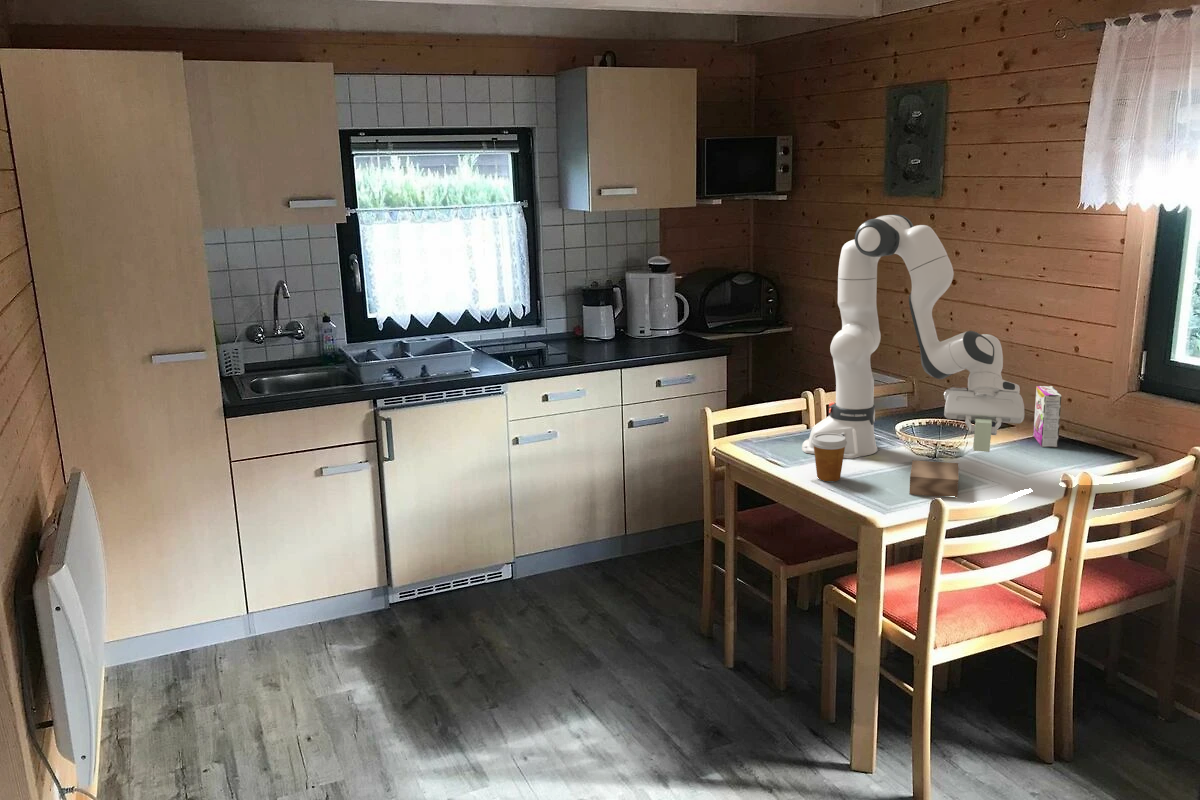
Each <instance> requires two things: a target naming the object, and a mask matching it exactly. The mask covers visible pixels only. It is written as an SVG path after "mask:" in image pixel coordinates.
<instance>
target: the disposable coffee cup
mask: <svg viewBox="0 0 1200 800" xmlns="http://www.w3.org/2000/svg"><path fill="white" fill-rule="evenodd" d="M812 443H813V446H814V453H815V454H814V459H815V460H814V461H815V468H816V470H815V471H816V476H817V477H818V478H819V479H821V480H824V481H823V482H825V481H834V482H838V481H840V480H841V476H842V468H843V462H844V458H843V457H844V450H845V446H846V444H847V441H846V439H845V437H844V436H843V435H840V434H834V433H822V434H817V435H815V436H814V438H813V440H812ZM817 477H816V478H817ZM818 478H817V479H818ZM819 479H818V480H819ZM821 480H820V481H821Z"/></svg>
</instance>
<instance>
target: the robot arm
mask: <svg viewBox="0 0 1200 800" xmlns="http://www.w3.org/2000/svg"><path fill="white" fill-rule="evenodd" d="M893 255H898V256H899V257H901V258H902V260H903V262H904V264H905V267H906V269H907V271H908V274H909V276H910V280H911V281H910V282H911V292H910V294H909V295H908V304H909V310H910V314H911V319H912V322H913V323H912V324H913V327H914V330H915V335H916V338H917V343H918V346H919V351H920V362H921V367H922V369H923V371H924V372H925V373H926V374H927V375H929V376H930V377H932V378H934V379H938V380H944V379H946V378H948V377H950V376H952V375H954V374H957V373H959V372H962V371H965V370H967V371H968V372H969V375H968V377H967V387H955V386H951V387H949V388H946V390H944V392H943V399H944V401H945V403H944V404H945V405H944V411H943V412H944V413H943V416H944V417H945V419H948V420H950V419H951V420H965V421H964V422H965V423H964V424H965V425H966V427H967V428H968V434H973V435H974V434H975V424H974V425H973V423H971V422H972V421H975V418H980V419H991V420H992V423H995V425H994V426H992V428H991V436H997V434H998V429H999V428H1000V427H1001V425H1002V423H1006V424H1022V422H1023V421H1024V420H1025V404H1024V399H1023V397H1022V395H1021V394H1020V391H1021V389H1020V388H1021V387H1020V385H1019V384H1018V383H1014V382H1010V381H1009V380H1005V379H1003V377H1002V372H1003V371H1002V370H1003V368H1004V355H1003V347H1002V344H1001V341H1000V340H999V338H998V337H996V335H995V336H994V335H992V334H986V333H983V334H980V333H979V332H977V331H974V330H967V331H964V332H961V333H959V334H956V335H954V336H952V337H949V338H946V339H945V340H941V341H940V340H939V339H938V334H937V330H936V326H935V322H934V318H933V308H934V306H935V304H936V303H937V302H938V300H939V299H940V298H941V297H942V296H943V295H944V294H945V293H946V291H947V290H948V289H949V288H950V286H951V284H952V282H953V280H954V276H955V275H954V273H955V271H954V267H953V264H952V262H951V260H950V257H949V256H948V253H947V250H946V249H945V247H944V245H943V243H942V242H941V240H940V238H939V237H938V235H937V233H936V232H935V231H934V229H933V228H932V227H931V226H929V225H926V224H919V225H918V224H917V225H914V223H912V221H911V220H910V219H909V218H908V217H906V216H904V215H901V214H896V213H895V214H887V215H880V216H877V217H876V218H871V219H868V220H866V221H864V222H863V223H861V225H859V227H858V228H857V230H856V231H855V234H854V239H851V240H849V241H847V242H846V243H844V244H843V245H842V247H841V251H840V256H839V260H838V261H839V262H838V272H837V274H838V275H837V306H838V308H839V311H840V312H839V313H840V318H841V329H840V330H838V332H836V334H835V335H834V336H833V337H832V340H831V343H830V346H829V347H830V348H829V349H830V350H829V351H830V354H831V357H832V362H833V367H834V374H835V385H836V386H835V402H834V401H830V403H829V405H828V416H827V417H824V418H823V419H822V420H820V421H819V422H817V423H816V424H815V425H814V426H813V427H812V428H811V431H810V434H809V438H807V439H804V441H803V442H802V445H801V450H802V452H803V453H806V454H811V455H815V453H814V446H813V443H812V440H813V438H814V436H815V435H817V434H822V433H834V434H840V435H843V436H844V437H845V439H846V441H847V444H846V446H845V450H844V457H843V459H857V458H859V457H864V456H871V455H873V454H875V453H877V452H878V446H877V443H876V438H875V437H876V436H875V425H874V424H875V420H876V419H875V418H876V408H875V404H874V394H875V391H874V389H875V385H874V384H875V379H874V377H873V371H872V367H871V366H872V365H871V356H872V354H873V353H874V352H875V351H876V350H877V349H878V347H879V345H880V343H881V339H882V338H881V336H882V335H881V334H882V333H881V330H880V323H879V315H878V307H877V294H878V293H877V290H878V289H877V287H878V286H877V285H878V283H877V282H878V263H879V261H880V259H881V258H882V257H887V256H893Z"/></svg>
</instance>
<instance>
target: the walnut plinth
mask: <svg viewBox="0 0 1200 800" xmlns="http://www.w3.org/2000/svg"><path fill="white" fill-rule="evenodd" d="M959 469H960V468H959V463H958V462H947V461H945V462H944V461H930V460H914V459H913V460H911V468H910V476H909V491H908V493H909V495H913V494H914V496H915V495H916V496H927V497H939V496H955V497H958V496H959Z"/></svg>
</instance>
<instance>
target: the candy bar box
mask: <svg viewBox="0 0 1200 800" xmlns="http://www.w3.org/2000/svg"><path fill="white" fill-rule="evenodd" d="M1035 389H1036V390H1035V406H1034V420H1033V433H1032V436H1033V438H1034V439H1035V441H1037V443H1038V444H1039V445H1040V447H1042V448H1058V446H1059V433H1060V422H1061V421H1060V419H1061V405H1062V394H1061V393H1060V392H1059V391H1058V390H1056V389H1055V387H1054V386H1052V385H1050V386H1049V385H1048V386H1047V385H1043V386H1042V385H1039V386H1037V385H1036V388H1035Z"/></svg>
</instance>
